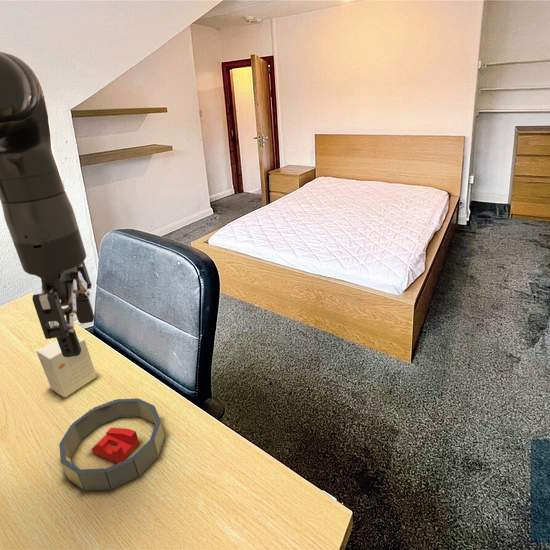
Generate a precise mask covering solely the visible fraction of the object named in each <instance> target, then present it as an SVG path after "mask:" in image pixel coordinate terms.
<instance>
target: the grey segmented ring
mask: <svg viewBox="0 0 550 550" xmlns="http://www.w3.org/2000/svg"><path fill="white" fill-rule="evenodd" d="M138 417H139V418H142V419H144V420H146V421H147V422H148V421H149V422H151V423H153V424H154V427H153V430H152V433H151V436H150V438H149V440H147V442H146V443H145V444H144V445H143V446H142V447H140V448H139V450H137V451H136V452H135V453H134V454H133V455H132V456H130V457H129V458H126V459H125V460H124V461H122V462H120V463H115V464H113V465H111V466H109V467H106V468H80V467H78V466H77V465H76V464H74V463H72V457H73V455H74V454H75V452H76V450H77V449H78V447H79V445H80V443H81V441H83V439H84V438H86V437H88V435H89V434H91V433H92V432H94V431H95V430H96V429H97V428H98V427H99V426H102V425H104V424H107V423H109V422H113V421H115V420H117V419H119V418H138ZM164 441H165V431H164V428H163V423H162V420H161V417H160V415H159V413H158V411H157V407H156V406H155V404H152V403H149V402H147V401H145V400H143V399H141V398H116V399H113V400H110V401H108V402H105V403H102V404H100V405H98V406H97V405H96V406H94V407H92V408H90V409H89V410H88V411H86V412H85V413H84V414H82V415H81V416H80V417H79V418H78V419H76V420H74V422H73V423H71V424H70V425H69V427H68V429H67V430H66V432H65V433H64V435H63V437H62V439H61V440H60V442H59V444H58V446H59V456H60V457H59V458H60V464H61V467H62V469H63V471H64V473H65V476H66V478H67V480H69V481H70V482H72V483H73V484H75V485H76V486H77V487H79V488H80V489H82V490H83V491H106V490H113V489H116V488H118V487H120V486H122V485H124V484H126V483H128V482H130V481H133V480H135V479H137V478H139V477H141V475H142V474H144V472H145V471H146V470H147V469H148V468H149V467H151V465H152V464H153V463H154V462H155V461H156V460H157V459H158V458H159V456H160V453H161V450H162V447H163V444H164Z"/></svg>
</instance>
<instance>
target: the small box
mask: <svg viewBox="0 0 550 550" xmlns="http://www.w3.org/2000/svg"><path fill="white" fill-rule="evenodd" d="M77 338H78V341H79V344H80V347H81V352H80V355H78V356H73V357H64V356H63V355H62V352H61V349H60V346H59V344H58V341H57V339H56V340H54V341H52V342H50V343H48V344H46V345H45V346H43V347H41V348H39V349H36V354H37V357H38V359H39V362H40V365H41V367H42V370H43V373H44V374H45V377H46V379H47V381H48V385H49V386H50V389H51V390H52V391H53V392H55V393H57V394H58V395H60V396H61V397H62V398H65V399H66V398H67V397H68V396H70V395H72V394H74V393H75V392H76V391H78V390H80V389H81V388H82V387H84V386H86V385H87V384H88V383H90V382H92V381H93V380H94V379H97V372H96V369H95V367H94V363H93V361H92V358H91V355H90V352H89V350H88V346H87V343H86V341H85V340H86V339H84V338H82V337H81V336H78V335H77Z"/></svg>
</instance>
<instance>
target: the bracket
mask: <svg viewBox="0 0 550 550" xmlns="http://www.w3.org/2000/svg"><path fill="white" fill-rule="evenodd" d="M139 444H140V441H139V438H138V434H137V431H136V430H133V429H131V428H124V427H123V428H122V427H110V428H109V429H108V430H107V431H106V432H105V435H104V436H103V437H102V438H101V439H100V440H99V441H98V442H97V443H96V444H95V445H94V446H92V447H91V451H92V454H94V455H97V456H99V457H102V458H104V459H106V460H109V461H110V462H113V463H115V464H117V463H120V462H122V461H124V460H126V459H127V458H128V456H129V455H130V454H132V452H133V451H134V450H135V449H136V448H137V447H138V445H139ZM113 445H114V446H113Z"/></svg>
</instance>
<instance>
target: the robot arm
mask: <svg viewBox="0 0 550 550" xmlns="http://www.w3.org/2000/svg"><path fill="white" fill-rule="evenodd" d="M49 118H50V117H49V112H48V107H47V102H46V97H45V94H44V91H43V89H42V85H41V82H40V81H39V78H38V77H37V75H36V73H35V72H34V70H33V69H32V68H31V67H30V66H29V65H28V64H27V63H26V62H25V61H24V60H22V59H21V58H19V57H18V56H15V55H14V54H11V53H8V52H3V51H0V203H1V207H2V211H3V216H4V221H5V224H6V227H7V229H8V232H9V235H10V238H11V240H12V243H13V246H14V248H15V251H16V254H17V256H18V259H19V262H20V264H21V267H22V269H23V271H24V272H25V273H26V274H28V275H31V276H35V277H37V278H39V279H40V282H41V293H36V294H33V295H32V303H33V306H34V309H35V312H36V314H37V318H38V321H39V324H40V326H41V330H42V333H43V336H44V338H45V339H46V340H51V339H56V340H57V341H58V344H59V346H60V349H61V352H62V355H63V356H64V357H73V356H78V355H80V352H81V347H80V344H79V341H78V338H77V336H78V335H77V333H76V329H75V326H74V325H75V323H74V316H75V315H76V319H77V322H78V323H79V324H81V325H82V324H83V325H84V324H88V323H93V322H94V320H95V314H94V311H93V307H92V304H91V301H90V297H91V292H90V289H92V286H93V285H92V282H91V279H90V275H89V273H88V269H87V266H86V263H85V260H86V258H87V253H86V249H85V245H84V242H83V239H82V235H81V232H80V229H79V224H78V221H77V218H76V213H75V211H74V208H73V205H72V202H71V201H70V199H69V196H68V193H67V191H66V187H65V185H64V182H63V177H62V175H61V174H62V173H61V171H60V168H59V165H58V162H57V159H56V157H55V156H56V155H55V153H54V149H53V141H52V133H51V132H52V131H51V126H50V120H49ZM63 307H65V308H63Z"/></svg>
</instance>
